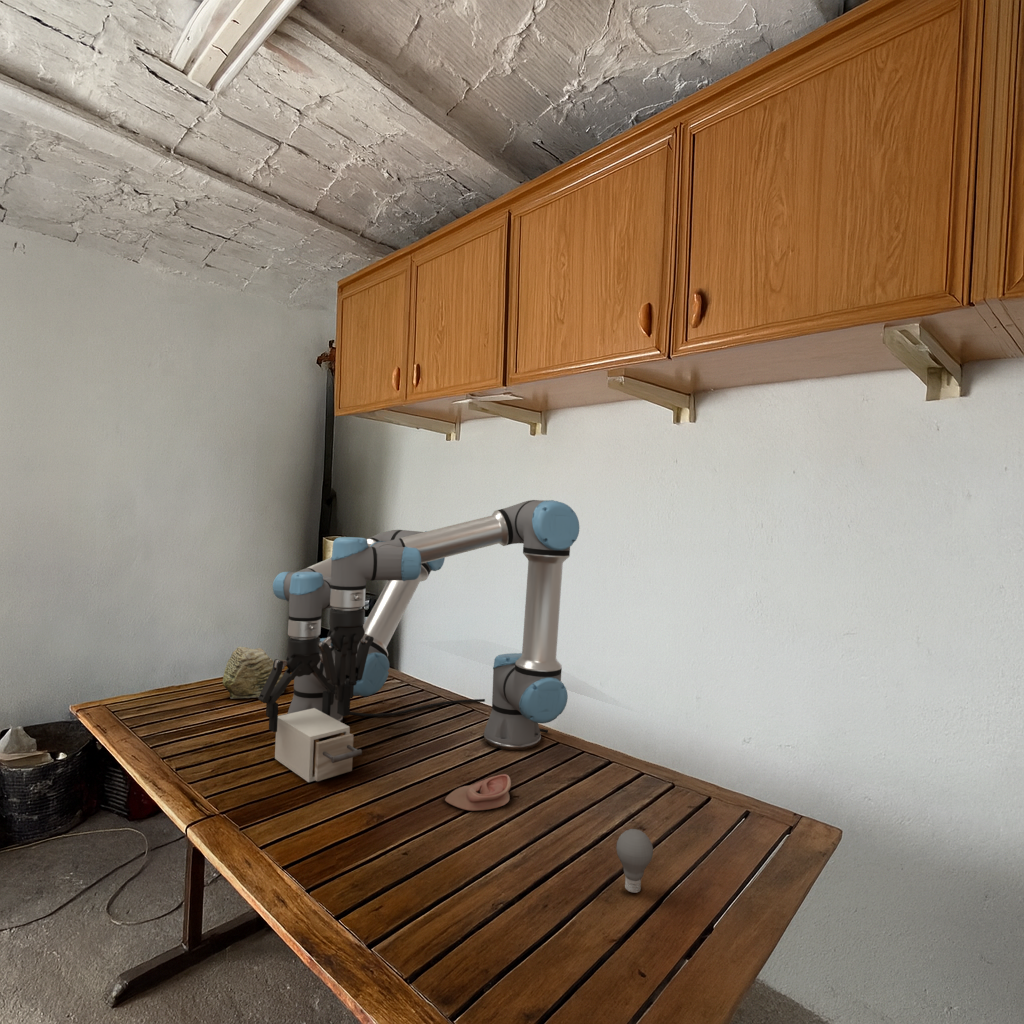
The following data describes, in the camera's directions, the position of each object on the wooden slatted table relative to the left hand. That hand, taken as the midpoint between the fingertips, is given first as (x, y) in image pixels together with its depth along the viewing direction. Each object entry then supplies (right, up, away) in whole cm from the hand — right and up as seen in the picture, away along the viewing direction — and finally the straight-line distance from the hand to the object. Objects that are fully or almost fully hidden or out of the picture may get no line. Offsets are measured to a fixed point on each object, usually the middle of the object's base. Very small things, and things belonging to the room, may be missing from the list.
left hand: (300, 724), depth 153 cm
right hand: (+14, +7, -13) cm, 20 cm away
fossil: (-29, -6, +45) cm, 54 cm away
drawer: (+8, -8, -7) cm, 13 cm away
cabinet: (+4, -8, -3) cm, 10 cm away
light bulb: (+71, -12, -47) cm, 86 cm away
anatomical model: (+44, -10, -17) cm, 48 cm away
